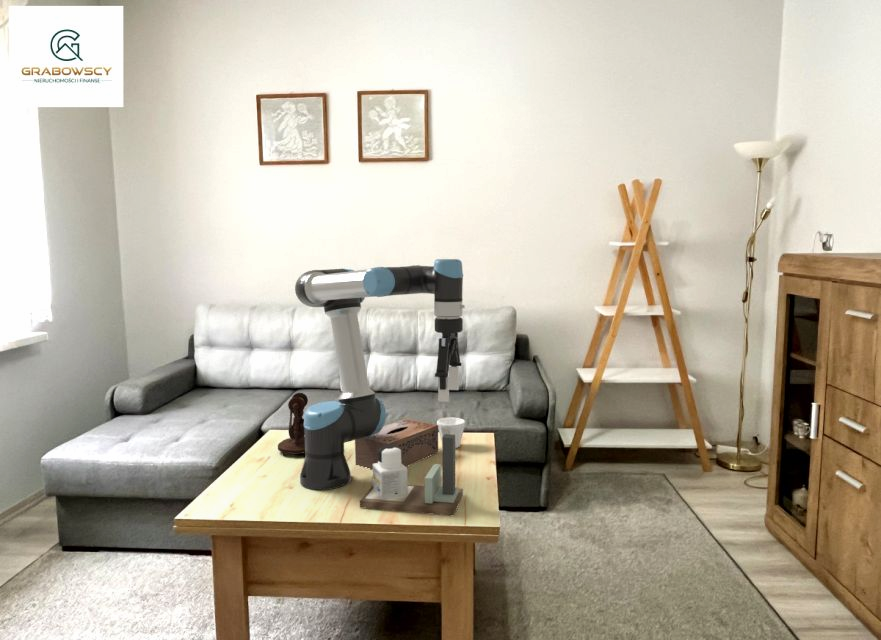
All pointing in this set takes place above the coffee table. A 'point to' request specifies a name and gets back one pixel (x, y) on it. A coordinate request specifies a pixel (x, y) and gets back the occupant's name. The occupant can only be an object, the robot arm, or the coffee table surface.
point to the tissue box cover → (399, 442)
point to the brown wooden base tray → (410, 502)
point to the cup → (451, 428)
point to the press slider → (443, 475)
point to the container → (389, 473)
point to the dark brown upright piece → (295, 426)
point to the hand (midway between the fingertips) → (448, 395)
